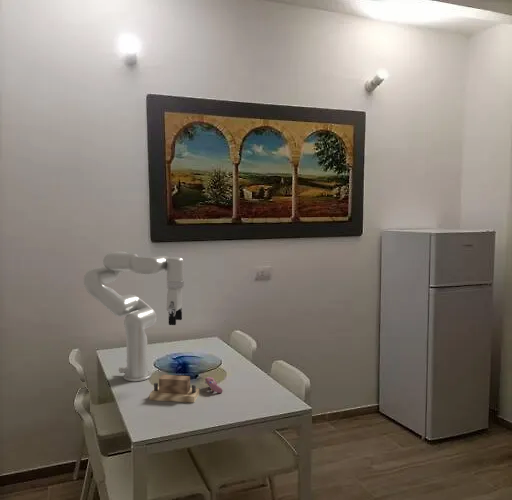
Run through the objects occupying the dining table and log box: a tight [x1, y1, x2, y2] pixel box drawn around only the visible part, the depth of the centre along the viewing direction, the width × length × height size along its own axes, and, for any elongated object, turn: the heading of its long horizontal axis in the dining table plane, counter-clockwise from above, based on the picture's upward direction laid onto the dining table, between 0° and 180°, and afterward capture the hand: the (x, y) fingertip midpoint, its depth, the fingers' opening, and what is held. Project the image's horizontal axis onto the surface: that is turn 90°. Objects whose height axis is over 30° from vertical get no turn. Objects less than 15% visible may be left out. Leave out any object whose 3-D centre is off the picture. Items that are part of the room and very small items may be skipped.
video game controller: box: [204, 376, 223, 394], centre depth 210 cm, size 10×5×7 cm, turn 22°
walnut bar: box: [158, 374, 191, 394], centre depth 202 cm, size 12×5×6 cm, turn 82°
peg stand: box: [149, 382, 200, 403], centre depth 202 cm, size 19×9×6 cm, turn 84°
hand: (175, 322), depth 216 cm, fingers open, 9 cm apart
